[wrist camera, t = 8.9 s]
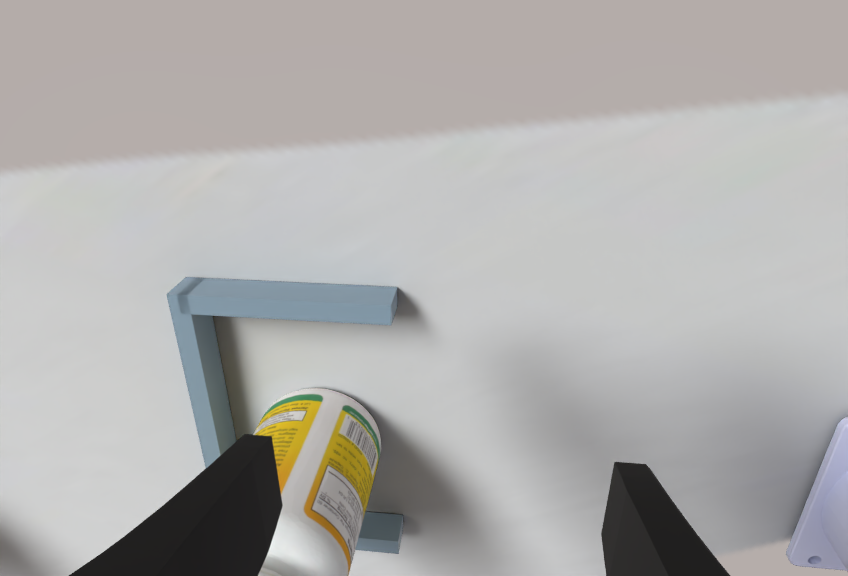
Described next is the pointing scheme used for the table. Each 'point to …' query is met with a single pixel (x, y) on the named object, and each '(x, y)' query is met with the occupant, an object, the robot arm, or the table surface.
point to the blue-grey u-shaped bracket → (268, 300)
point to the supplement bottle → (319, 480)
